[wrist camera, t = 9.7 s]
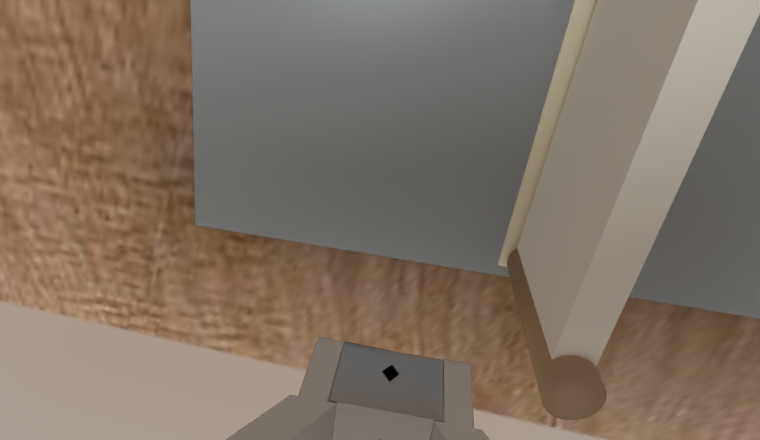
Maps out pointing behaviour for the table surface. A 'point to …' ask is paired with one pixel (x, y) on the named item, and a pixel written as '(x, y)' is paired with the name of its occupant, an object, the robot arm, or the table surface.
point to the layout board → (441, 137)
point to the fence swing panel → (616, 177)
